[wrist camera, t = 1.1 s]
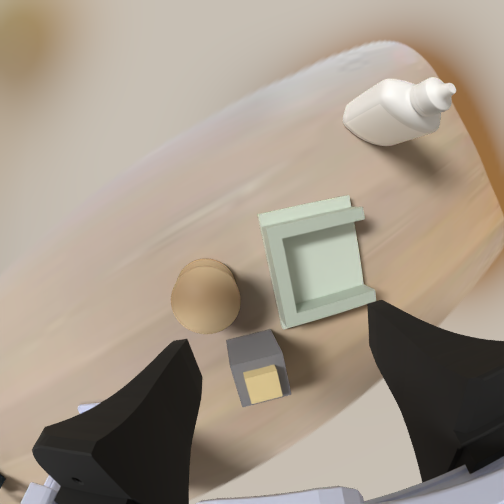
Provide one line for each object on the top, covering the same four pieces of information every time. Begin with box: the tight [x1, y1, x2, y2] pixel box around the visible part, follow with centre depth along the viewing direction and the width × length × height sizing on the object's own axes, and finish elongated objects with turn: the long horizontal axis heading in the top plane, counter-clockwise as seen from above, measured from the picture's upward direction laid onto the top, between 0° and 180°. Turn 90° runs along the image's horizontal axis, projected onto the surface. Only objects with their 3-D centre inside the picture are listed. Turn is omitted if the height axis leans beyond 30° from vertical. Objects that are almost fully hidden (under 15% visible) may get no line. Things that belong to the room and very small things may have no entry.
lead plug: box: [226, 329, 291, 407], centre depth 25 cm, size 4×4×6 cm
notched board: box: [257, 195, 376, 329], centre depth 26 cm, size 10×8×3 cm
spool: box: [171, 259, 241, 334], centre depth 25 cm, size 5×5×4 cm
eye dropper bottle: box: [343, 77, 456, 146], centre depth 21 cm, size 4×6×12 cm
